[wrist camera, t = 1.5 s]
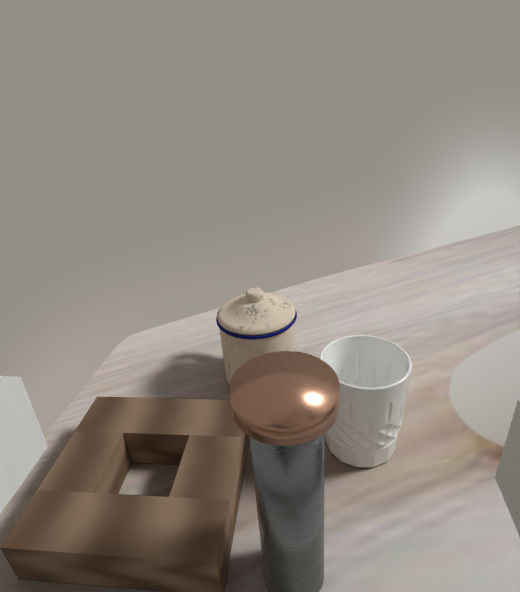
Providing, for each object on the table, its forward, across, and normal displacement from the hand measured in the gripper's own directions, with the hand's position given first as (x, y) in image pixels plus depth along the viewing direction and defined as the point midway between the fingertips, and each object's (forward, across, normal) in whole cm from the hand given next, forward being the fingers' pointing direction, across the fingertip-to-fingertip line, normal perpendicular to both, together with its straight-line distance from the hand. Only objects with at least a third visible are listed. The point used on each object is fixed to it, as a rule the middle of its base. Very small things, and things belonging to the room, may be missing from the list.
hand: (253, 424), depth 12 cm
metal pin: (+10, 0, -25) cm, 27 cm away
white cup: (+23, +6, -25) cm, 34 cm away
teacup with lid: (+34, -6, -25) cm, 43 cm away
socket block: (+16, -13, -25) cm, 32 cm away
